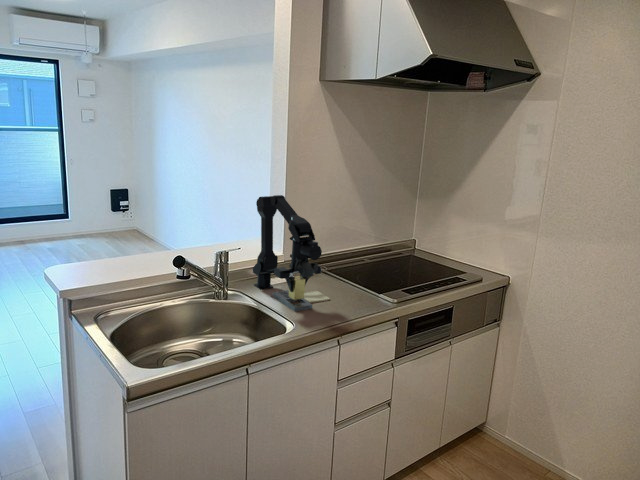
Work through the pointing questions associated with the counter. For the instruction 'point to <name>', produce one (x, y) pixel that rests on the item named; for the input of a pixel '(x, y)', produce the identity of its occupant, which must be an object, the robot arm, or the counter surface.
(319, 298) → the pale folded cloth
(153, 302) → the counter surface
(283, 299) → the grey block holder tray
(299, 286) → the brass block
